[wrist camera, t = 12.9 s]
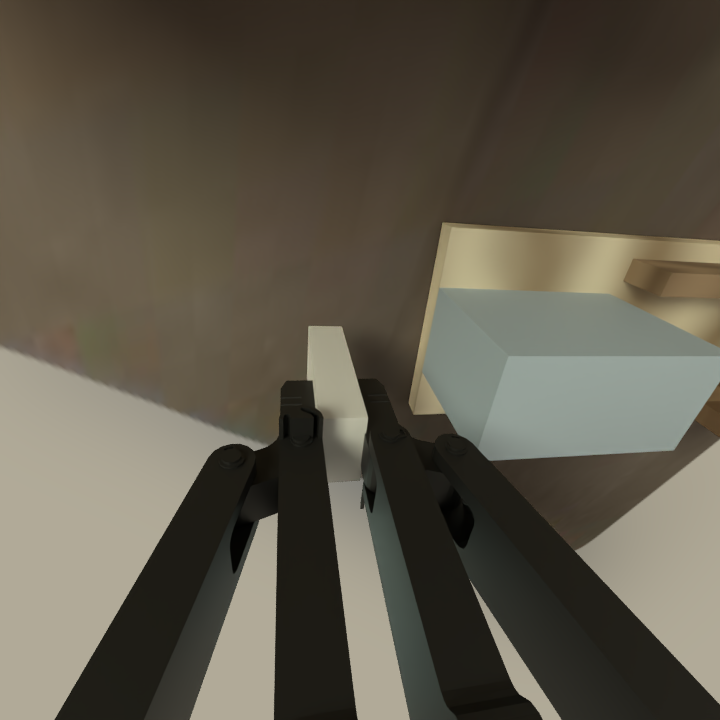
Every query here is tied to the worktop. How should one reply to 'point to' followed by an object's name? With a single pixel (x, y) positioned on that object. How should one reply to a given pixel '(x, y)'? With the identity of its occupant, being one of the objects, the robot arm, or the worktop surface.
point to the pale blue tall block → (564, 373)
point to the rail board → (581, 281)
